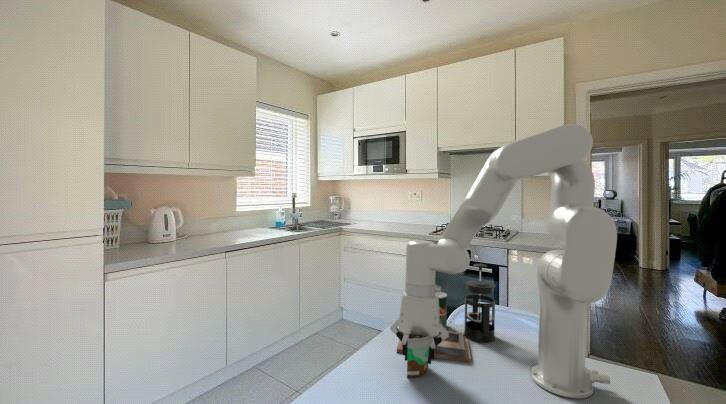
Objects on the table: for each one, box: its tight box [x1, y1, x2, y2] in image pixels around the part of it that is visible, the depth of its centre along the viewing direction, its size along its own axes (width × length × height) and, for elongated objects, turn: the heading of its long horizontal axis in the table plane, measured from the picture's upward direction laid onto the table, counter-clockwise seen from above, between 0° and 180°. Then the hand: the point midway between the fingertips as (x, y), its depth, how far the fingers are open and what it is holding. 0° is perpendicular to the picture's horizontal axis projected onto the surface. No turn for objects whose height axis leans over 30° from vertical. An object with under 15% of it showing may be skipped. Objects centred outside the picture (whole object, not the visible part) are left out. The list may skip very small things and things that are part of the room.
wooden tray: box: [396, 330, 472, 363], centre depth 92 cm, size 20×12×3 cm, turn 76°
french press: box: [463, 263, 496, 344], centre depth 99 cm, size 12×9×23 cm
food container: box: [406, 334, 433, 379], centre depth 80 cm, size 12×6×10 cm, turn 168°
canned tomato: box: [435, 291, 448, 330], centre depth 108 cm, size 8×8×11 cm
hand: (418, 359), depth 80 cm, fingers closed on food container, 5 cm apart
